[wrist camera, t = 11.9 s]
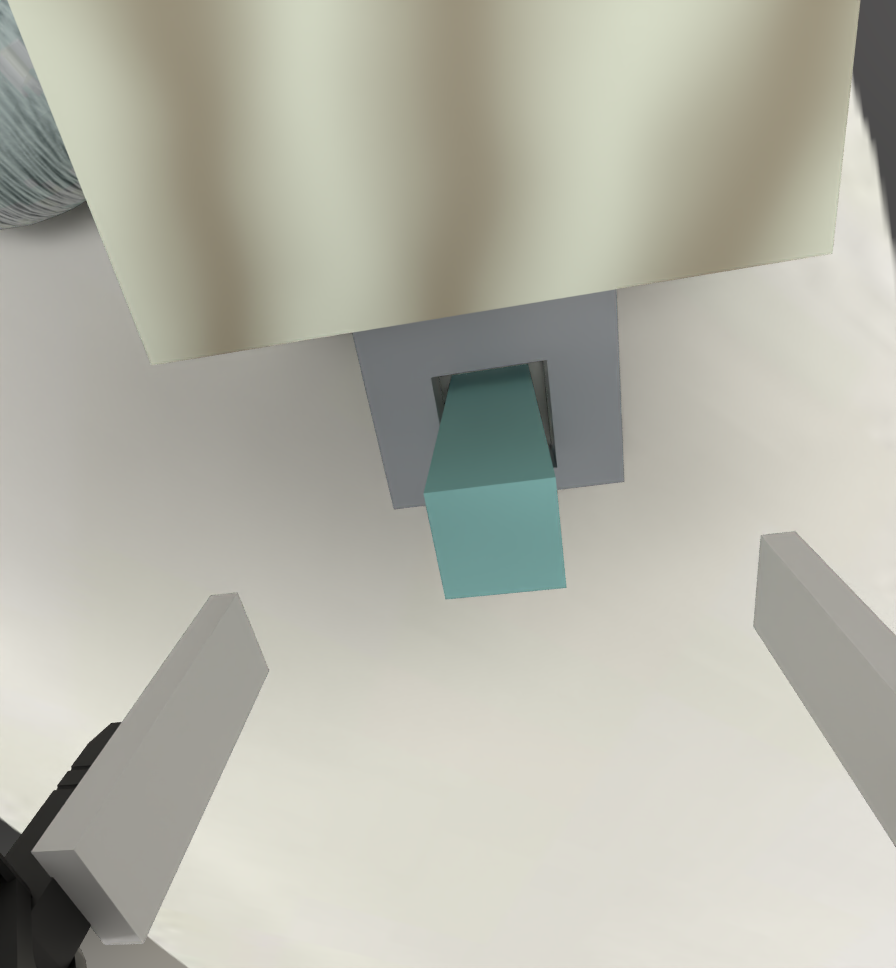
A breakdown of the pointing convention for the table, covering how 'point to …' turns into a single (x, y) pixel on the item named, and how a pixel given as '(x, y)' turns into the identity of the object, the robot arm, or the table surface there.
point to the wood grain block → (436, 151)
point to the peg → (494, 489)
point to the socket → (490, 344)
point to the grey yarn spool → (29, 140)
